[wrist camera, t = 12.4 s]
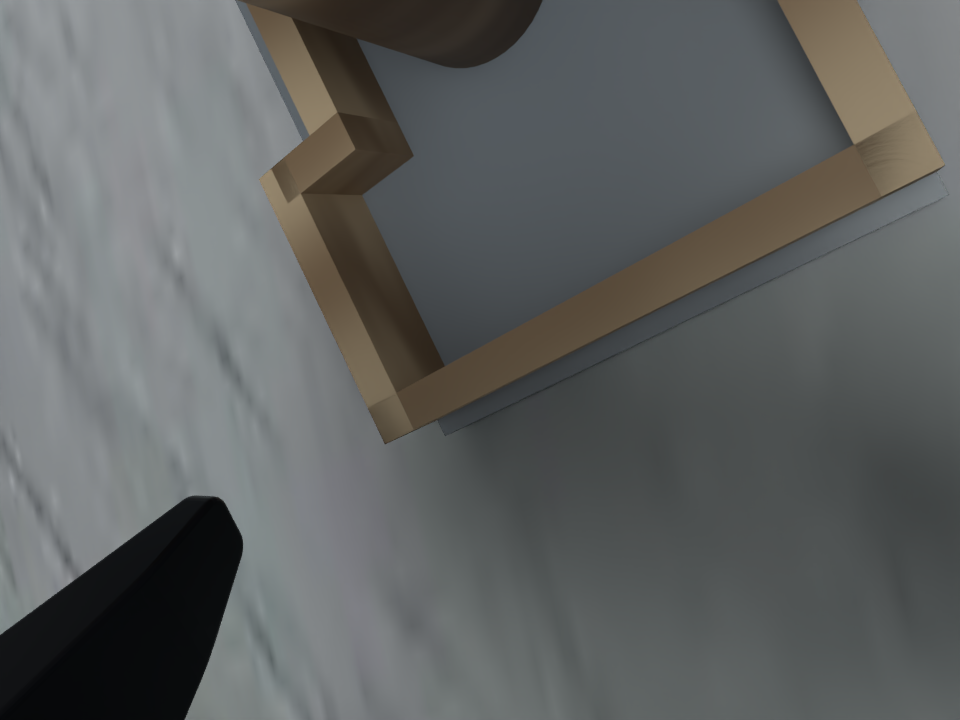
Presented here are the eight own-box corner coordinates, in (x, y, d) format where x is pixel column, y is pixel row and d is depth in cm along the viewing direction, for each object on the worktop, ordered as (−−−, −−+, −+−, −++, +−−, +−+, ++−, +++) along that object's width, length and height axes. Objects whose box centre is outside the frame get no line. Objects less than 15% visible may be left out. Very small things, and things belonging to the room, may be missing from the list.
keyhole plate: (945, 195, 15) (959, 191, 12) (462, 426, 22) (393, 462, 19) (624, -403, 16) (562, -545, 13) (253, -7, 23) (154, -41, 19)
